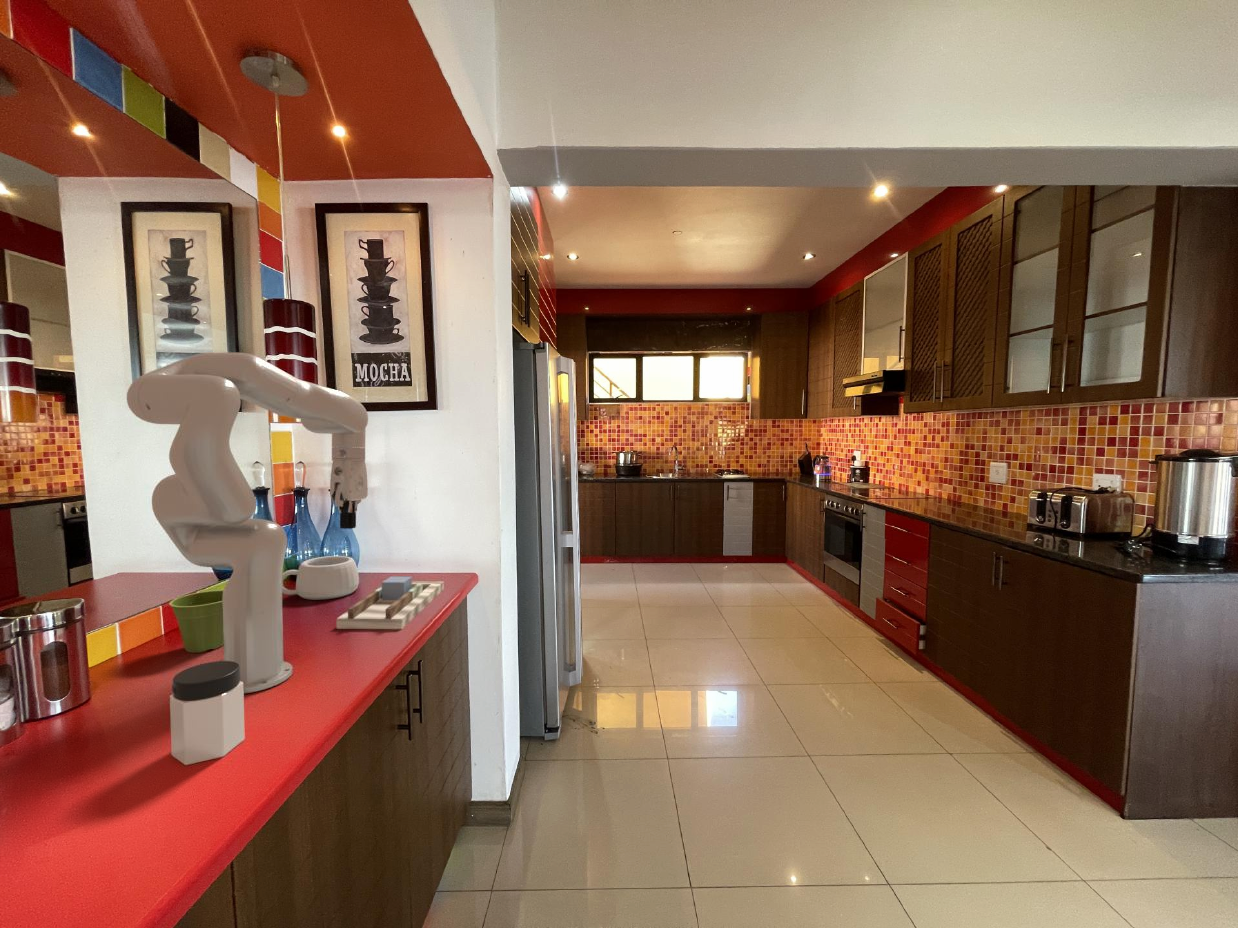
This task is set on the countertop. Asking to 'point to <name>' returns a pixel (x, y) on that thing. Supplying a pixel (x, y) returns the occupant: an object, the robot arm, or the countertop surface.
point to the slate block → (395, 587)
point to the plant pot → (200, 620)
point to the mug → (324, 578)
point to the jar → (206, 711)
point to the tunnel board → (390, 608)
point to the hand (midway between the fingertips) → (348, 527)
